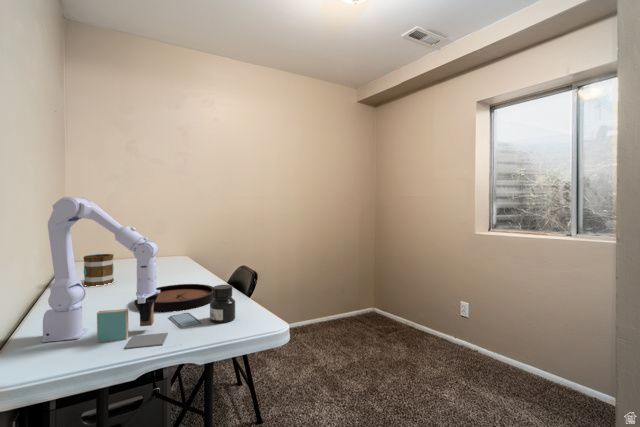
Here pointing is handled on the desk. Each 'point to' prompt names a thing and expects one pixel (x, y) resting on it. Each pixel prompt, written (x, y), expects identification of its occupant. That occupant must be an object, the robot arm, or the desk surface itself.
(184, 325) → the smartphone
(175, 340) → the desk surface
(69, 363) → the desk surface
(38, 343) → the desk surface
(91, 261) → the mug
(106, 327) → the clay tile
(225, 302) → the ink bottle
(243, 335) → the desk surface
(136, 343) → the mat
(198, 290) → the wall clock
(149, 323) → the block
